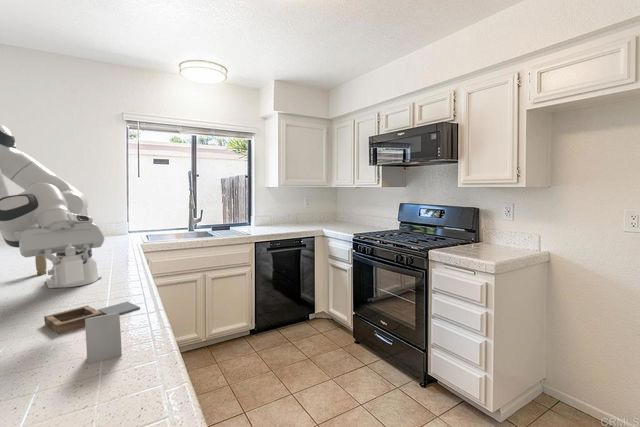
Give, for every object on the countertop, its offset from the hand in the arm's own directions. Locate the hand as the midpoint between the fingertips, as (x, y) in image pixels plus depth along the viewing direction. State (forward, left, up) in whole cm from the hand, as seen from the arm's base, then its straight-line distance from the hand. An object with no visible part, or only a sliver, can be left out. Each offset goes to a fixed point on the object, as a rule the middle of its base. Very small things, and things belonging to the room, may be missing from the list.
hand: (71, 261), depth 96 cm
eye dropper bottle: (0, 0, -7) cm, 7 cm away
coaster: (-1, +12, -19) cm, 22 cm away
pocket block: (-1, 0, -19) cm, 19 cm away
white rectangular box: (+28, -3, -19) cm, 34 cm away
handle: (-79, +12, -19) cm, 82 cm away
